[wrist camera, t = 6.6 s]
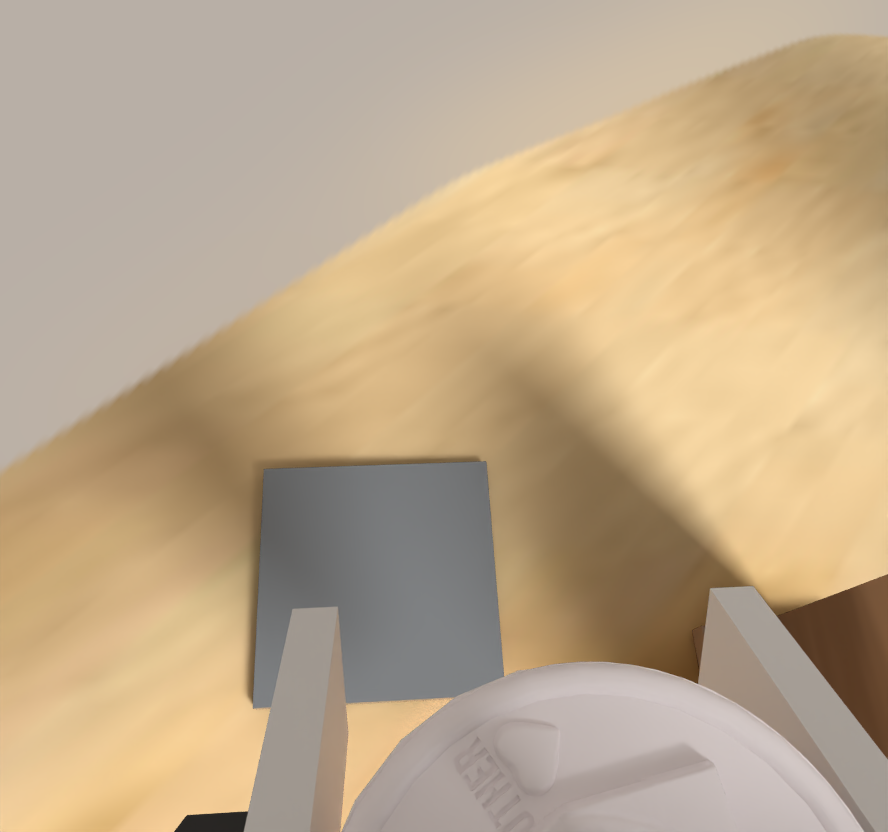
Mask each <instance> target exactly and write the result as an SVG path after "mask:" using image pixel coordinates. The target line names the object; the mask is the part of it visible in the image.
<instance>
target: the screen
mask: <svg viewBox="0 0 888 832" xmlns="http://www.w3.org/2000/svg"><path fill="white" fill-rule="evenodd" d="M777 618H778V619H779V620H780V621H781V623H782V624H783V625H784V627H785V628H786V629H787V630H788V632H789V633H790V634H791V636H792V637H793V638H794V639H795V641H796V642H797V643H798V645H799V646H800V647H801V648H802V650H803V651H804V652H805V654H806V655H807V656H808V657H809V659H810V660H811V661H812V663H813V664H814V665H815V666H816V668H817V669H818V670H819V672H820V673H821V674H822V676H823V677H824V678H825V679H826V681H827V682H828V683H829V685H830V686H831V687H832V688H833V690H834V691H835V692H836V694H837V695H838V696H839V697H840V699H841V700H842V701H843V703H844V704H845V705H846V706H847V708H848V709H849V710H850V712H851V713H852V714H853V715H854V717H855V718H856V719H857V721H858V722H859V723H860V724H861V726H862V727H863V728H864V730H865V731H866V732H867V734H868V735H869V736H870V737H871V739H872V740H873V741H874V743H875V744H876V745H877V746H878V748H879V749H880V750H881V752H882V753H883V754H884V755H885V757H886V758H887V759H888V574H887V575H885V576H882V577H879V578H877V579H874V580H871V581H869V582H866V583H864V584H861V585H858V586H856V587H853V588H850V589H848V590H845V591H842V592H840V593H837V594H834V595H832V596H829V597H826V598H824V599H821V600H819V601H816V602H813V603H811V604H808V605H805V606H803V607H800V608H797V609H795V610H792V611H789V612H787V613H784V614H781V615H779V616H777ZM692 632H693V638H694V643H695V649H696V654H697V659H698V665H699V670H700V664H701V656H702V648H703V640H704V633H705V626H700V627H698V628H696V629H693V630H692Z"/></svg>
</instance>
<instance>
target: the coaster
mask: <svg viewBox="0 0 888 832" xmlns="http://www.w3.org/2000/svg"><path fill="white" fill-rule="evenodd" d="M320 607H338V614H339V626H340V638H341V651H342V663H343V675H344V687H345V700H346V704H363V703H381V702H399V701H418V700H436V699H454V698H455V697H456V696H458V695H461V694H463V693H466V692H468V691H470V690H473V689H475V688H478V687H480V686H482V685H485V684H487V683H490V682H492V681H494V680H497V679H499V678H502V677H504V670H503V658H502V646H501V633H500V621H499V609H498V597H497V585H496V573H495V561H494V549H493V537H492V525H491V512H490V500H489V488H488V476H487V464H486V461H483V462H453V463H424V464H395V465H366V466H337V467H308V468H279V469H264V479H263V500H262V521H261V543H260V564H259V585H258V607H257V628H256V649H255V671H254V692H253V709H271V705H272V701H273V696H274V691H275V687H276V682H277V678H278V673H279V669H280V664H281V659H282V655H283V650H284V646H285V641H286V637H287V632H288V627H289V623H290V618H291V614H292V609H300V608H320Z"/></svg>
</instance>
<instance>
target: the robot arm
mask: <svg viewBox="0 0 888 832" xmlns="http://www.w3.org/2000/svg"><path fill="white" fill-rule="evenodd" d="M698 684H699V685H701V686H704V687H706V688H708V689H711V690H713V691H714V692H716V693H718V694H720V695H722V696H724V697H726V698H727V699H729V700H731V701H733V702H735V703H737V704H738V705H740V706H741V707H743V708H744V709H746V710H747V711H749V712H750V713H752V714H753V715H755V716H756V717H758V718H759V719H761V720H762V721H763V722H765V723H766V724H767V725H769V726H770V727H771V728H772V729H774V730H775V731H776V732H777V733H779V734H780V735H781V736H783V737H784V738H785V739H786V740H787V741H788V742H789V743H790V744H791V745H793V746H794V747H795V748H796V749H797V750H798V751H799V752H800V753H801V754H802V755H803V756H804V757H805V758H806V759H807V760H808V761H809V762H810V763H811V764H812V765H813V766H814V767H815V768H816V769H817V770H818V772H819V773H820V774H821V775H822V776H823V777H824V778H825V779H826V780H827V781H828V783H829V784H830V785H831V786H832V788H833V789H834V790H835V791H836V793H837V794H838V795H839V797H840V798H841V799H842V800H843V802H844V803H845V804H846V806H847V807H848V808H849V810H850V811H851V813H852V814H853V816H854V817H855V819H856V820H857V822H858V823H859V825H860V826H861V828H862V829H863V831H864V832H888V759H887V758H886V757H885V755H884V754H883V753H882V752H881V750H880V749H879V748H878V746H877V745H876V744H875V743H874V741H873V740H872V739H871V737H870V736H869V735H868V734H867V732H866V731H865V730H864V728H863V727H862V726H861V724H860V723H859V722H858V721H857V719H856V718H855V717H854V715H853V714H852V713H851V712H850V710H849V709H848V708H847V706H846V705H845V704H844V703H843V701H842V700H841V699H840V697H839V696H838V695H837V694H836V692H835V691H834V690H833V688H832V687H831V686H830V685H829V683H828V682H827V681H826V679H825V678H824V677H823V676H822V674H821V673H820V672H819V670H818V669H817V668H816V666H815V665H814V664H813V663H812V661H811V660H810V659H809V657H808V656H807V655H806V654H805V652H804V651H803V650H802V648H801V647H800V646H799V645H798V643H797V642H796V641H795V639H794V638H793V637H792V636H791V634H790V633H789V632H788V630H787V629H786V628H785V627H784V625H783V624H782V623H781V621H780V620H779V619H778V618H777V616H776V615H775V614H774V612H773V611H772V610H771V608H770V607H769V606H768V605H767V603H766V602H765V601H764V599H763V598H762V597H761V596H760V594H759V593H758V592H757V590H756V589H755V588H754V587H753V586H746V587H725V588H710V593H709V601H708V609H707V617H706V625H705V633H704V640H703V648H702V656H701V664H700V672H699V680H698ZM347 743H348V724H347V712H346V700H345V687H344V675H343V663H342V651H341V638H340V626H339V614H338V607H320V608H300V609H292V614H291V618H290V623H289V627H288V632H287V637H286V641H285V646H284V650H283V655H282V659H281V664H280V669H279V673H278V678H277V682H276V687H275V691H274V696H273V701H272V705H271V710H270V714H269V719H268V723H267V728H266V732H265V737H264V742H263V746H262V751H261V755H260V760H259V764H258V769H257V774H256V778H255V783H254V787H253V792H252V796H251V801H250V806H249V810H248V812H231V813H215V814H199V815H187V816H186V817H185V818H184V820H183V821H182V822H181V824H180V825H179V826H178V827H177V829H176V830H175V831H174V832H340V828H341V816H342V804H343V791H344V779H345V767H346V755H347Z"/></svg>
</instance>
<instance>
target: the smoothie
mask: <svg viewBox="0 0 888 832" xmlns="http://www.w3.org/2000/svg"><path fill="white" fill-rule="evenodd" d="M342 832H864V831H863V829H862V828H861V826H860V825H859V823H858V822H857V820H856V819H855V817H854V816H853V814H852V813H851V811H850V810H849V808H848V807H847V806H846V804H845V803H844V802H843V800H842V799H841V798H840V797H839V795H838V794H837V793H836V791H835V790H834V789H833V788H832V786H831V785H830V784H829V783H828V781H827V780H826V779H825V778H824V777H823V776H822V775H821V774H820V773H819V772H818V770H817V769H816V768H815V767H814V766H813V765H812V764H811V763H810V762H809V761H808V760H807V759H806V758H805V757H804V756H803V755H802V754H801V753H800V752H799V751H798V750H797V749H796V748H795V747H794V746H793V745H791V744H790V743H789V742H788V741H787V740H786V739H785V738H784V737H783V736H781V735H780V734H779V733H777V732H776V731H775V730H774V729H772V728H771V727H770V726H769V725H767V724H766V723H765V722H763V721H762V720H761V719H759V718H758V717H756V716H755V715H753V714H752V713H750V712H749V711H747V710H746V709H744V708H743V707H741V706H740V705H738V704H737V703H735V702H733V701H731V700H729V699H727V698H726V697H724V696H722V695H720V694H718V693H716V692H714V691H713V690H711V689H708V688H706V687H704V686H701V685H699V684H697V683H694V682H692V681H689V680H687V679H685V678H681V677H678V676H675V675H672V674H669V673H666V672H662V671H659V670H655V669H650V668H645V667H641V666H636V665H630V664H621V663H612V662H572V663H562V664H553V665H548V666H543V667H538V668H533V669H528V670H519V671H516V672H514V673H511V674H509V675H506V676H504V677H502V678H499V679H497V680H494V681H492V682H490V683H487V684H485V685H482V686H480V687H478V688H475V689H473V690H470V691H468V692H466V693H463V694H461V695H458V696H456V697H455V698H454V699H452V700H451V701H450V702H449V703H447V704H446V705H445V706H443V707H442V708H441V709H440V710H438V711H437V712H436V713H435V714H433V715H432V716H431V717H429V718H428V719H427V720H426V721H424V722H423V723H422V724H421V725H419V726H418V727H417V728H415V729H414V730H413V731H412V732H410V733H409V734H408V735H407V736H405V737H404V738H403V739H401V740H400V742H399V743H398V744H397V746H396V747H395V748H394V750H393V751H392V752H391V754H390V755H389V756H388V758H387V759H386V760H385V762H384V763H383V764H382V766H381V767H380V768H379V770H378V771H377V772H376V774H375V775H374V776H373V778H372V779H371V780H370V782H369V783H368V784H367V785H366V787H365V788H364V789H363V791H362V792H361V793H360V795H359V796H358V797H357V799H356V800H355V802H354V804H353V807H352V809H351V811H350V813H349V816H348V818H347V820H346V823H345V825H344V827H343V830H342Z"/></svg>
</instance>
